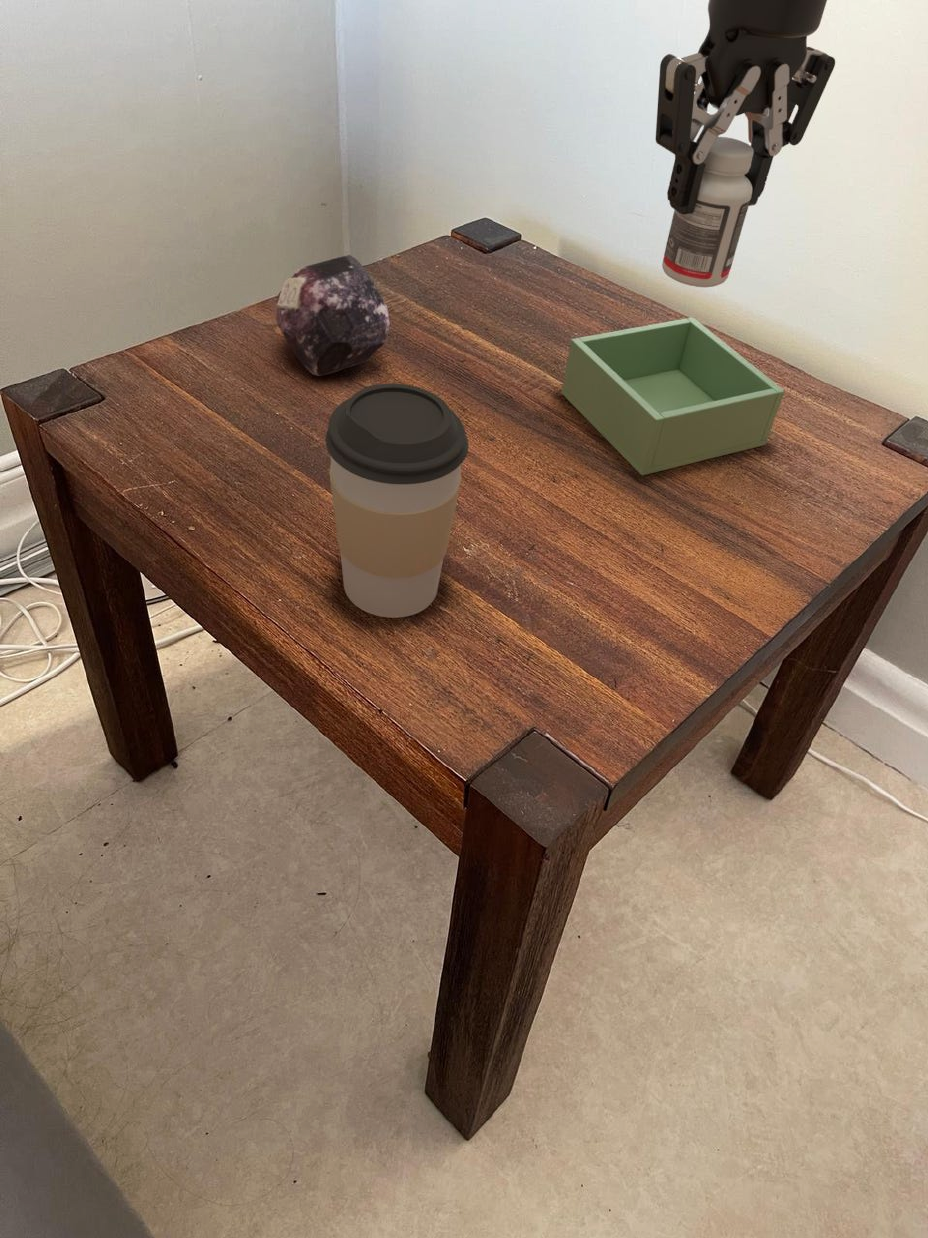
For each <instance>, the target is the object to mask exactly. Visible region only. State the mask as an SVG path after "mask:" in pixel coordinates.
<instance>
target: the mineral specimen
mask: <svg viewBox="0 0 928 1238" xmlns="http://www.w3.org/2000/svg"><path fill="white" fill-rule="evenodd" d="M276 297H277V298H276V299H277V300H276V307H275V320H276V323H277V326H278V328H279V330H280V332H281V334H282V336H283V337H284V339H285V341H286V343H287V344H288V345H289V347H290V349H291V350H292V352H293V353H294V354H295V356H296V357H297V359H298V360H299V362H300V363H301V365H302V366H303V367H304V368H305V370H307V371H308V372H309V373H311V375H314V376H317V377H321V376H325V375H329V374H334V373H337V372H340V371H343V370H345V369H349V368H351V367H354V366H357V365H358V366H359V365H360V364H364V363H366V362H367V361H369V360H370V359H371V358H372V357H373V356H374V355H375V354H376V353H377V352H378V350H380V349H381V348H382V347H383V346H384V345H385V344H386V342H387V338H388V335H389V331H390V318H389V309H388V306H387V304H386V302H385V300H384V298H383V296H382V294H381V293H380V292H379V290H378V288H377V287H376V285H375V282H374V281H373V279H372V278H371V276H370V275H369V273H368V272H367V270H366V269H365V267H364V266H363V265H362V264H361V262H360V261H359V260H358V259H357V258H355V257H354V256H353V255H351V254H347V255H343V256H338V257H335V258H331V259H327V260H324V261H321V262H317V263H313V264H309V265H306V266H303V267H299V268H297V269H296V270H295V272H294V273H293V274H292V275H291V277H289V278H287V279H286V280H285V281H284V283H283V286H282V288H281V290H280V291H279V292H278V294H277V296H276Z"/></svg>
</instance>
